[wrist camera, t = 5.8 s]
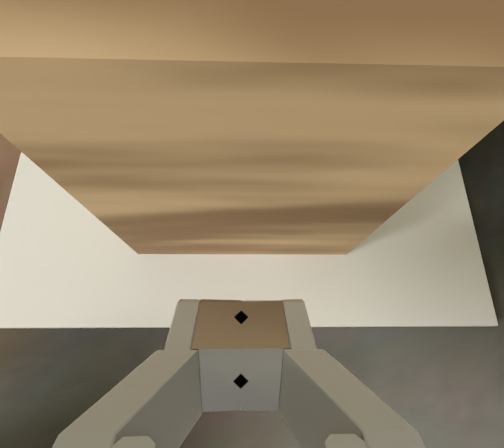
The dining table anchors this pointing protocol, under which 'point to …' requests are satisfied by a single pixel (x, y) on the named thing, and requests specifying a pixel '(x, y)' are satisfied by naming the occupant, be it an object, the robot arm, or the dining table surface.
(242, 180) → the wooden block
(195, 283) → the board
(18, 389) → the dining table surface
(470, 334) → the dining table surface
